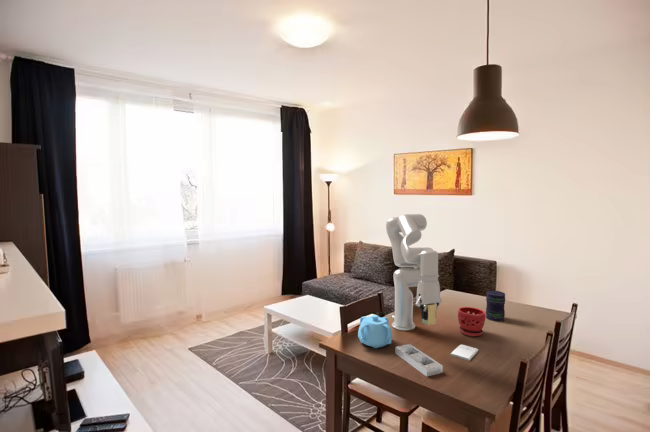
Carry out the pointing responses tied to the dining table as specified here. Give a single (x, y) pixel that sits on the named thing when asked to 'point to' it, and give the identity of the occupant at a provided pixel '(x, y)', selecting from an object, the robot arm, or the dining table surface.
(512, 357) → the dining table surface
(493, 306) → the storage jar
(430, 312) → the gold rectangular block
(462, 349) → the external hard drive
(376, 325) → the decorative pot
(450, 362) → the dining table surface
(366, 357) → the dining table surface
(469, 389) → the dining table surface
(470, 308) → the plant pot
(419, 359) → the grey slotted plate
